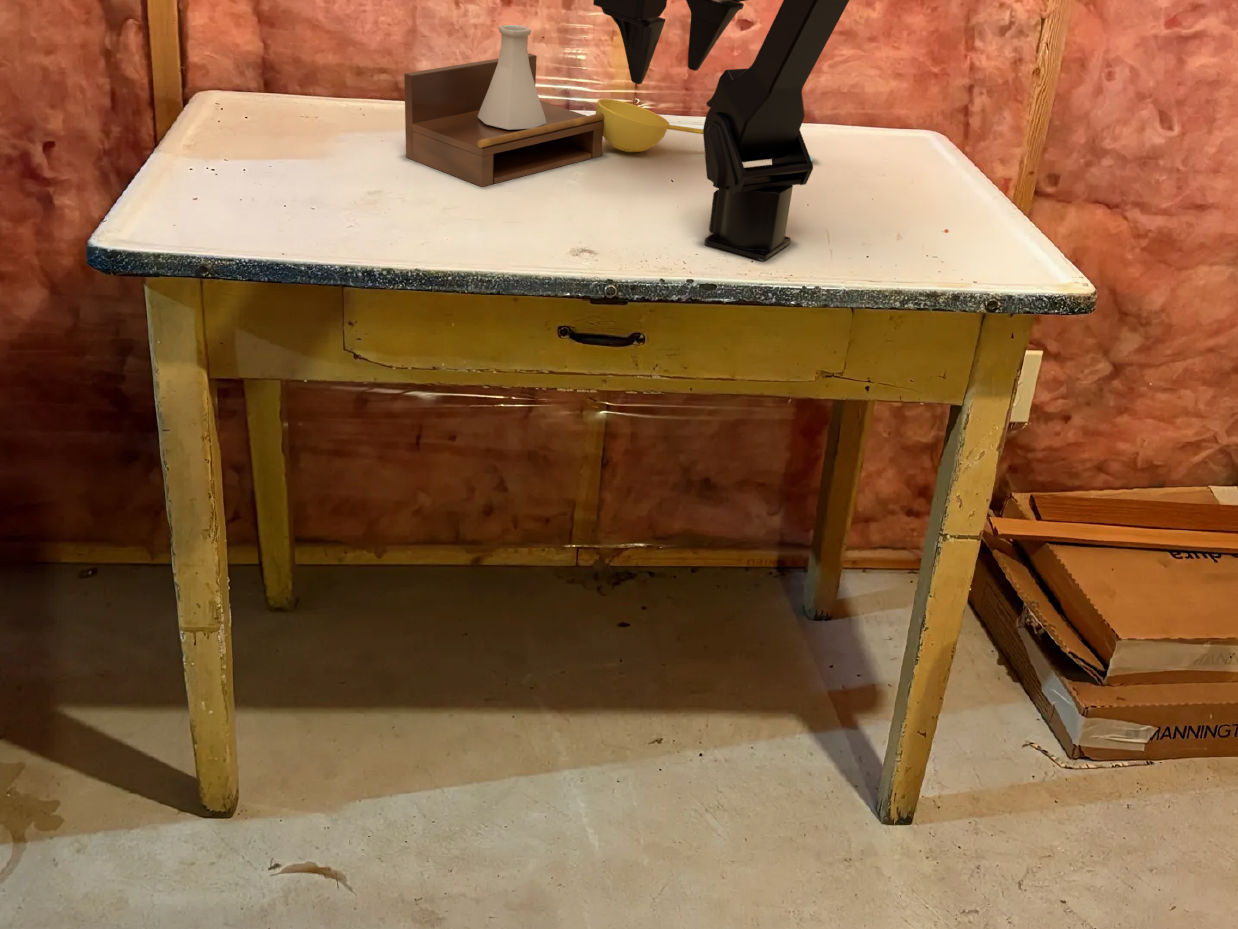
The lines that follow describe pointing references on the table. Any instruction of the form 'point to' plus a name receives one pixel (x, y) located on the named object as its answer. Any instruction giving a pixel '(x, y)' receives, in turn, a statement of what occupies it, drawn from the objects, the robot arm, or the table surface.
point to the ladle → (634, 126)
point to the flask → (512, 85)
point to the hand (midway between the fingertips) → (665, 76)
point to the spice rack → (488, 128)
